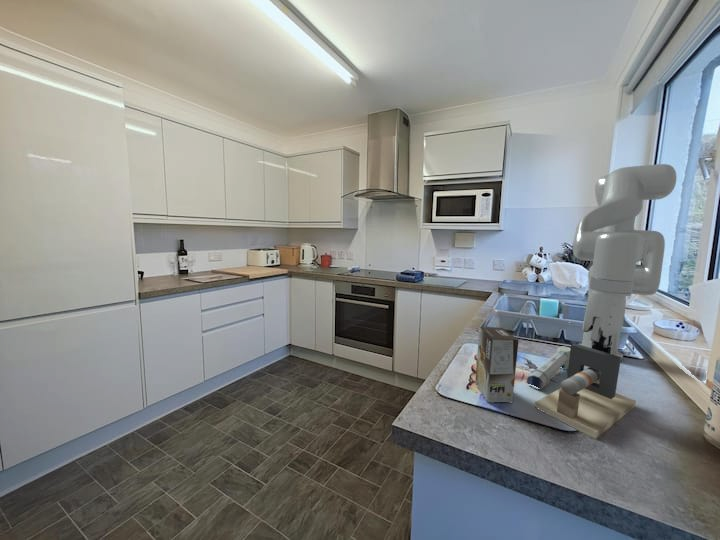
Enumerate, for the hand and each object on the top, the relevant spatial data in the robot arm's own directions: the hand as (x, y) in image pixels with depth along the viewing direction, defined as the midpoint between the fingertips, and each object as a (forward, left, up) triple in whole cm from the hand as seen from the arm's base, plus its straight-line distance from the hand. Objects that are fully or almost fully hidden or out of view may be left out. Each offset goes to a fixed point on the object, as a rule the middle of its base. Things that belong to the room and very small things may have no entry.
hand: (599, 361), depth 71 cm
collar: (+3, 0, -6) cm, 7 cm away
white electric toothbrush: (-6, -12, -11) cm, 18 cm away
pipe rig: (+4, 0, -11) cm, 11 cm away
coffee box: (+18, -15, -11) cm, 26 cm away
